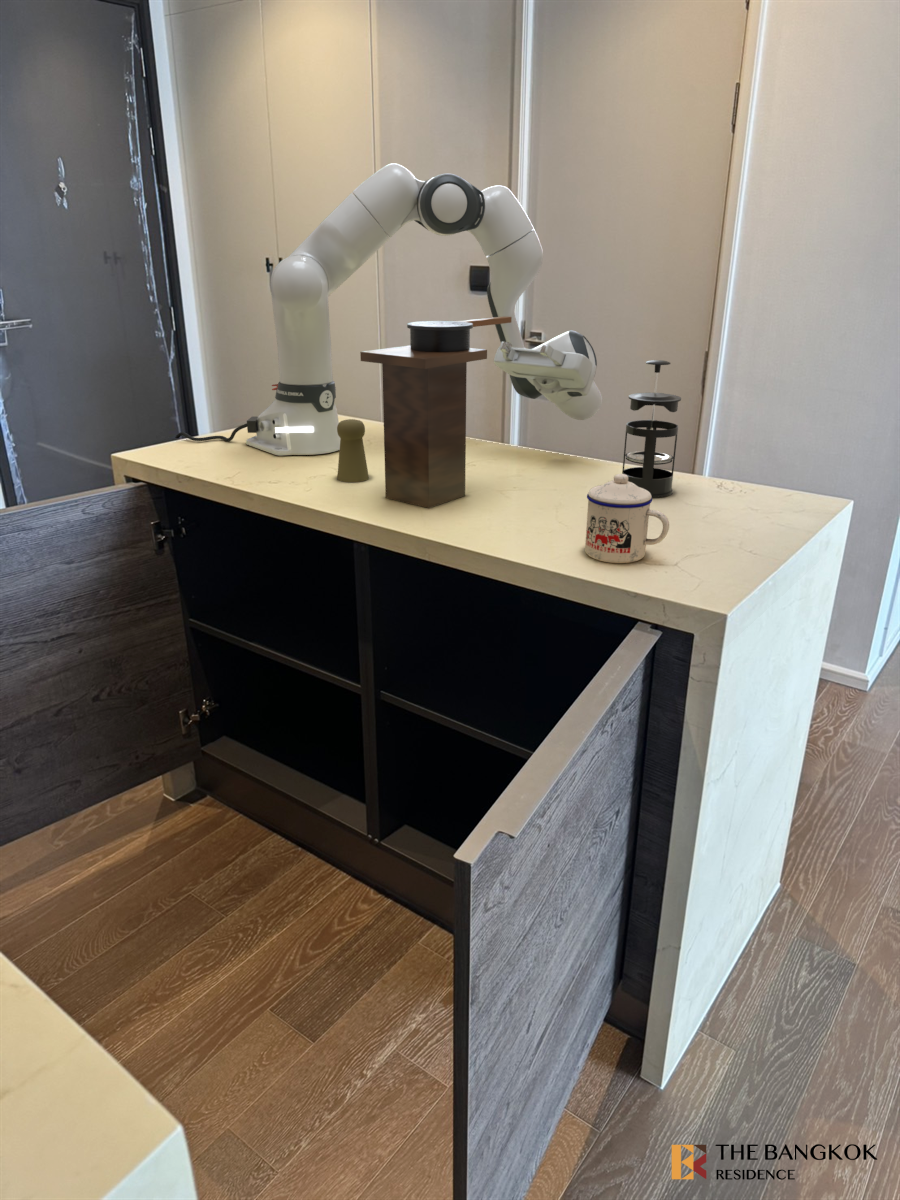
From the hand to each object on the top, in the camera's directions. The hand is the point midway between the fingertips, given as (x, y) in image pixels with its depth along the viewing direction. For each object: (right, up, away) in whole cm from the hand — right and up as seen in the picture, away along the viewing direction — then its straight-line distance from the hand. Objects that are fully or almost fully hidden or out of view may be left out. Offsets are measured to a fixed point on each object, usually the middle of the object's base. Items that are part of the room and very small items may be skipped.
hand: (523, 346), depth 164 cm
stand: (-18, -30, -12) cm, 37 cm away
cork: (-32, -25, 0) cm, 41 cm away
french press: (+22, -28, -7) cm, 36 cm away
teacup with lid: (+11, -42, -39) cm, 59 cm away
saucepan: (-11, -4, -13) cm, 18 cm away
